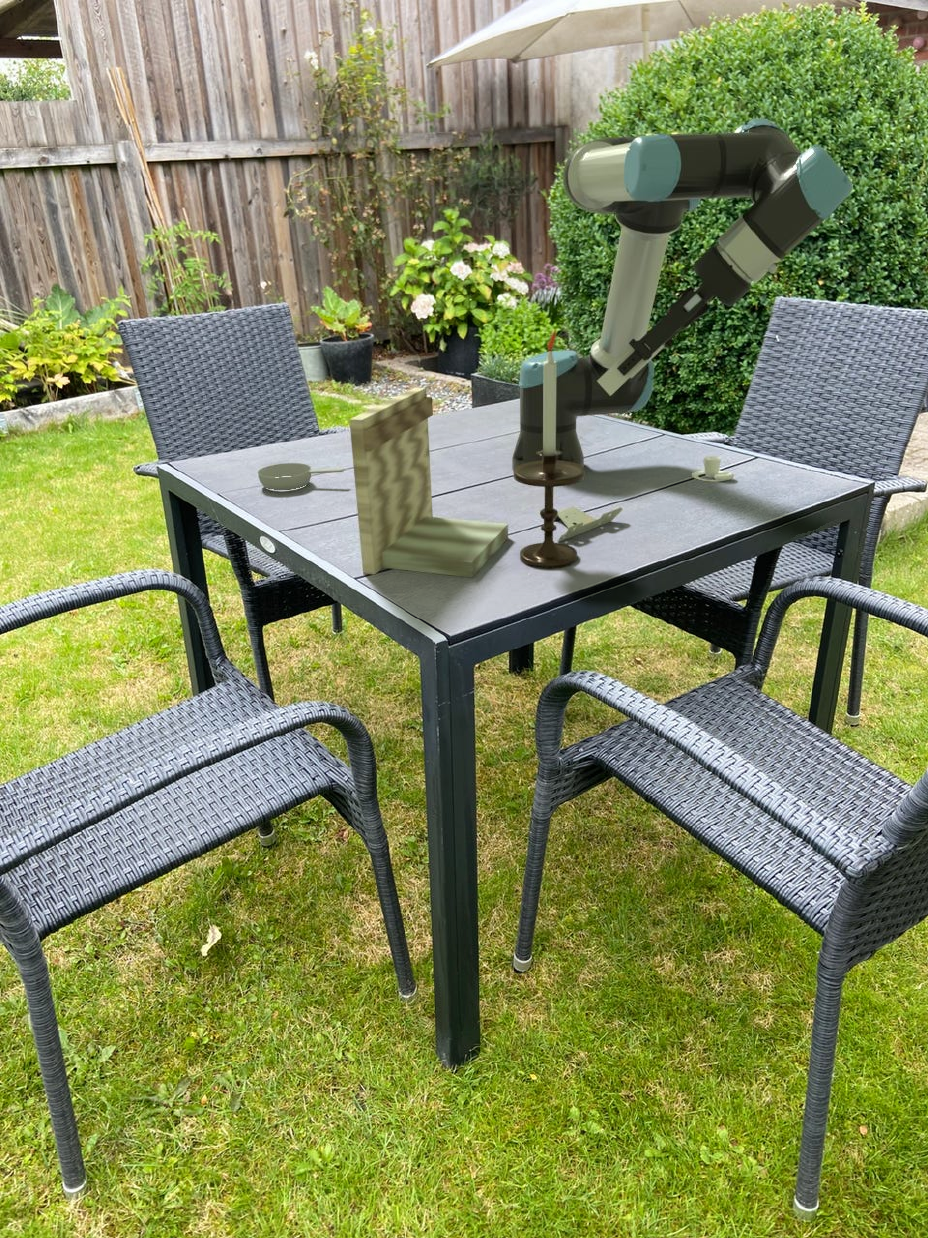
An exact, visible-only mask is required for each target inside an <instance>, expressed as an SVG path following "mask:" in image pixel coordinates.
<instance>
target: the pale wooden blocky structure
mask: <svg viewBox="0 0 928 1238" xmlns="http://www.w3.org/2000/svg"><path fill="white" fill-rule="evenodd" d="M433 406H434V405H433V397H432V396H427V387H418V386H417V387H412V388H410V389H409V390H406V391H405V392H402V393H400V394H399V395H397V396H394V397H392V398H391V399H388V400H387V401H384V402H382V403H380V404H378V405H376V406H374V407H372V408H370V409H368V410H366V411H364V412H361V413H360V414H358V415H355V416H354V417H351V418H350V419H349V428H350V429H349V432H350V442H351V443H350V444H351V454H352V464H353V475H354V484H355V485H354V486H355V487H354V488H355V498H356V508H357V518H358V520H357V521H358V530H359V531H358V532H359V541H360V542H359V543H360V552H361V553H360V555H361V566H362V572H363V574H367V575H376V574H377V573H378V572H379V571H381V570H382V569H383V568H385V569H391V570H393V569H394V570H402V571H403V570H404V571H410V572H419V573H430V574H437V575H438V574H439V575H447V576H454V577H455V576H457V577H465V578H473V577H474V576H475V575H476V574H477V573H478V572H479V571H480V569H482V567H483V566H484V565H485V564H486V563H487V561H489V560H490V558H491V557H492V556H494V554H495V553H496V552H497V551H498V550H499V549H500V548H501V547H502V545H504V543H505V542H506V541H507V540H508V539H509V524H508V523H501V522H489V521H481V520H470V519H469V520H467V519H461V518H460V519H459V518H446V517H438V516H437V517H436V516H433V515H434V512H433V496H432V475H431V458H430V437H429V418H431V417H432V416H433V415H434V409H433V408H434V407H433Z"/></svg>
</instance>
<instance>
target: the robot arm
mask: <svg viewBox="0 0 928 1238" xmlns="http://www.w3.org/2000/svg"><path fill="white" fill-rule="evenodd" d="M562 184H563V189H564V191H565V194H566V196H567V197H568V199H569V200H570V201H571V202H572V204H574V205H575V206H577V207H578V208H579V209H581V210H584V211H587V212H589V213H594V214H599V215H614V216H615V217H614V218H615V221H616V222H617V223H618V225H619V226H620V227H621V230H620V234H619V239H618V246H617V250H616V256H615V260H614V266H613V270H612V271H613V272H612V275H611V276H612V277H611V282H610V285H609V286H610V288H609V293H608V298H607V304H606V309H605V314H604V319H603V324H602V330H601V333H600V334H601V335H600V338H598V339H597V340H596V341H595V342H593V344H592V345H591V346H590V347H591V348H590V352H589V356H585V357H579V354H578V353H577V351H575V350H569V349H568V350H567V349H566V350H565V349H564V350H551V352H552V356H553V359H554V361H556V362H557V363H556V450H558V451H561V452H562V454H561V455H559V456H556V460H559V461H568V462H573V463H577V464H579V465H581V466H583V467H584V463H585V457H584V453H583V450H582V447H581V444H580V439H579V435H578V433H577V418H578V417H583V416H584V417H585V416H596V415H597V416H599V415H611V414H612V415H614V414H618V415H624V414H627V413H631V412H638V411H640V410H642V409H643V408H644V407H645V406H646V405H647V404H648V402H649V400H650V398H651V395H652V393H653V390H654V385H655V384H654V383H655V380H654V377H655V367H654V363H653V358H654V357H656V356H657V355H658V353H660V352H661V351H662V350H663V349H664V348H665V347H667V348H668V349H670V348H671V347H672V346H673V345H674V344H675V341H674V340H673V339H675V338H676V336H677V334H678V333H680V332H681V331H684V330H686V329H687V328H689V326H690V325H692V324H693V323H694V322H696V321H697V320H699V319H700V318H702V317H703V316H704V315H705V314H706V313H707V312H708V311H709V310H710V309H711V306H710V305H709V304H710V302H712V300H715V299H716V298H717V300H718V301H719V302H721V303H722V304H723V305H725V306H728V307H732V306H734V305H735V304H736V303H737V302H739V300H740V299H742V298H743V297H744V296H745V295H746V294H747V293H748V292H749V291H750V290H751V287H752V284H751V282H753V283H754V282H755V283H757V282H759V281H760V280H761V279H762V278H764V277H765V276H766V274H767V272H769V273H771V274H772V275H773V274H775V273H776V272H777V270H778V267H777V265H775V264H777V263H779V262H781V260H783V259H784V258H785V257H786V256H787V255H788V254H789V253H790V252H791V251H793V250H794V249H795V248H796V247H797V246H798V245H799V244H801V242H802V241H803V240H805V239H806V237H808V236H809V235H810V234H811V233H812V232H813V231H815V229H816V228H817V227H818V226H820V225H821V224H822V223H823V222H824V221H825V220H827V219H829V218H830V217H831V216H832V213H833V212H834V211H835V210H837V208H839V206H840V205H841V204H842V203H844V201H845V200H846V199H847V198H848V197H849V195H850V194H851V192H852V190H853V182H852V180H851V179H850V178H849V176H848V175H847V174H846V172H844V170H843V169H842V167H840V166H839V165H838V163H837V162H836V161H835V160H834V159H833V158H832V156H831V155H830V154H829V153H828V152H827V151H826V150H825V149H824V148H823V147H822V146H821V145H819V144H814V145H812V146H810V147H809V148H808V149H807V150H805V151H803V152H802V151H800V149H799V148H798V147H797V146H796V144H795V143H794V142H793V141H792V140H791V137H790V136H789V134H788V133H787V132H786V131H784V130H783V128H780V127H779V126H778V125H777V124H776V123H774V122H773V121H771V120H769V119H767V118H753V119H751V120H750V121H747V122H746V123H744V124H742V125H741V124H740V126H738V127H737V128H736V129H735V130H734V132H718V133H717V132H716V133H713V132H712V133H678V134H677V133H676V134H668V133H667V134H666V133H653V134H649V135H641V136H608V137H601V138H600V137H599V138H596V139H593V140H591V141H588V142H585V143H583V144H581V145H579V146H578V147H577V148H575V149H574V150H573V151H572V152H571V153H570V155H569V156H568V158H567V160H566V162H565V164H564V167H563V173H562ZM732 198H733V199H735V198H749V199H751V201H752V202H753V203H752V205H751V206H750V207H749V208H748V209H747V210H745V212H743V214H742V215H740V216H739V217H738V218H737V219H736V220H735V221H734V222H733V223H732V224H731V225H730V226H729V227H728V228H727V229H726V230H725V231H724V232H723V233H722V234H721V235H720V236H719V237H718V240H717V241H718V245H716V244H714V245H711V246H710V247H709V248H708V249H707V250H705V252H704V253H703V254H702V255H701V256H700V257H699V258H698V259H697V260H696V261H695V262H694V263H693V270H694V273H695V274H696V276H697V277H698V278H699V280H701V281H700V282H701V283H700V284H699V285H698V286H697V287H695V288H694V287H693V286H692V285H691V286H690V287H687V288H686V289H685V290H684V291H683V292H682V293H681V294H680V296H678V298H677V300H676V301H674V303H673V304H672V305H671V306H669V308H668V309H667V310H666V312H665V313H666V314H665V315H664V316H663V317H662V318H661V319H660V320H659V321H658V322H657V323H656V324H655V325H654V326H653V327H651V328H650V329H649V330H648V328H649V325H650V324H649V323H650V320H651V315H652V310H653V306H654V302H655V297H656V294H657V289H658V285H659V282H660V281H659V280H660V276H661V272H662V268H663V264H664V259H665V254H666V251H667V246H668V244H669V243H668V242H669V238H670V235H672V234H674V233H675V232H676V231H678V230H679V229H680V227H681V225H682V221H683V216H684V213H690V212H693V211H695V210H696V209H697V208H698V207H699V205H700V203H701V200H702V199H703V200H704V199H705V200H707V199H709V200H710V199H732ZM548 352H549V351H548ZM548 352H542V353H538V354H534V355H532V356H530V357H528V358H526V359H525V360H524V361H523V362H522V363H521V365H520V370H519V371H520V373H519V382H518V386H519V416H520V417H519V419H520V421H519V424H520V425H519V427H520V428H519V429H520V431H519V434H518V438H517V442H516V444H515V448H514V451H513V453H512V458H511V462H512V463H511V468H512V470H513V471H514V468H515V467H517V466H518V465H521V464H524V463H527V462H533V461H542V456H539V455H537V454H536V452H538V451H541V450H543V381H544V361H546V360H547V356H548ZM584 468H585V467H584Z"/></svg>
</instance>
